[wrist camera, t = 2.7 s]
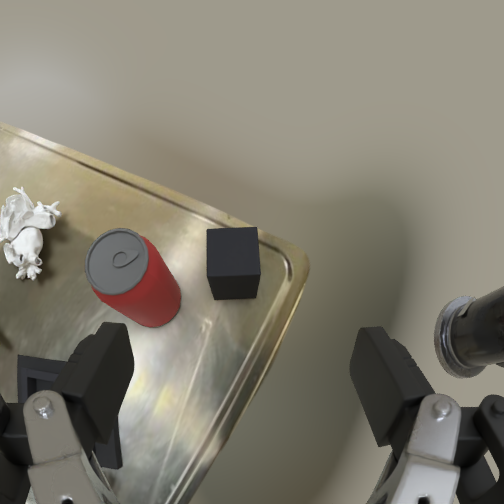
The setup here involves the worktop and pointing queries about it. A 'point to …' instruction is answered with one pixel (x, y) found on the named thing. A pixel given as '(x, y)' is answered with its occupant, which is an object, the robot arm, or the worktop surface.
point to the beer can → (132, 277)
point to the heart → (25, 231)
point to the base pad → (42, 378)
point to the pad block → (233, 262)
